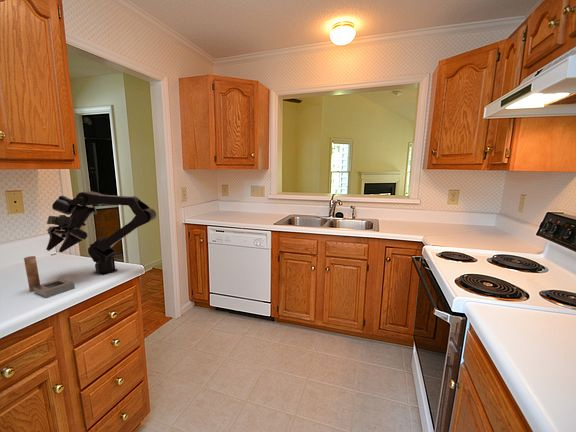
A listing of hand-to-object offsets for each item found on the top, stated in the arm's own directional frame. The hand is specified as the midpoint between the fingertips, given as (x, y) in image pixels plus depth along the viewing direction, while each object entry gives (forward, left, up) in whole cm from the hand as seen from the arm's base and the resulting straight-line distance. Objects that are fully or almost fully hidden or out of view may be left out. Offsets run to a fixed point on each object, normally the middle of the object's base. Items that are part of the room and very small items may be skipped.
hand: (53, 251), depth 109 cm
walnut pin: (+7, -1, -14) cm, 15 cm away
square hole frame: (+4, +7, -13) cm, 16 cm away
